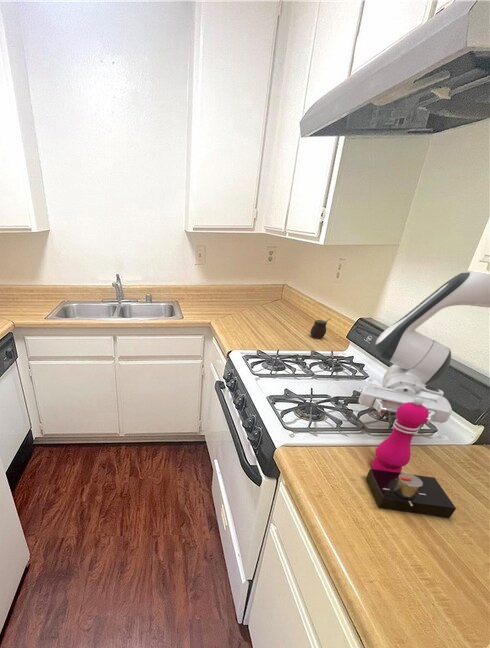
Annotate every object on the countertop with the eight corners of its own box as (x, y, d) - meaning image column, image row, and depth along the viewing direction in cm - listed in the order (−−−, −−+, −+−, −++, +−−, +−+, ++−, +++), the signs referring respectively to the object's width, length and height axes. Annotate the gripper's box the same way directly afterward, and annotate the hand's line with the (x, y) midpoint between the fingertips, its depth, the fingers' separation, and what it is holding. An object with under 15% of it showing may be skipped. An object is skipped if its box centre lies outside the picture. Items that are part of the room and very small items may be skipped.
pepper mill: (384, 458, 90) (417, 389, 79) (408, 475, 85) (447, 403, 73) (362, 463, 88) (393, 392, 77) (385, 481, 83) (422, 408, 71)
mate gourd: (309, 334, 178) (314, 314, 172) (324, 336, 176) (330, 316, 170) (309, 338, 172) (314, 317, 167) (325, 340, 170) (331, 319, 165)
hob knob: (411, 486, 76) (418, 473, 74) (419, 500, 73) (427, 487, 71) (389, 483, 77) (396, 470, 75) (396, 497, 74) (404, 483, 71)
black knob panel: (428, 487, 81) (435, 476, 79) (452, 523, 72) (460, 512, 70) (365, 478, 83) (370, 468, 81) (380, 512, 74) (386, 501, 72)
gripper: (363, 375, 97) (361, 394, 87) (450, 392, 89) (459, 415, 79) (356, 395, 100) (353, 416, 90) (439, 413, 93) (446, 438, 82)
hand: (403, 416), depth 85 cm, fingers open, 8 cm apart
